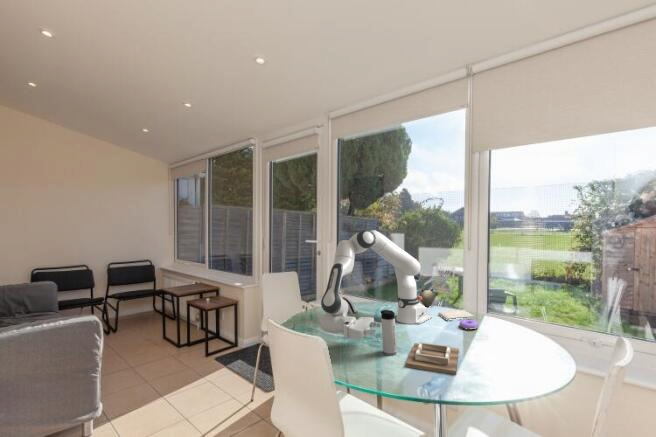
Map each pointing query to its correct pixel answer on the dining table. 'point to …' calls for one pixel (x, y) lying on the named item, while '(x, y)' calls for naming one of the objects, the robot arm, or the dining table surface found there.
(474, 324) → the donut
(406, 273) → the robot arm
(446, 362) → the dock
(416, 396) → the dining table surface
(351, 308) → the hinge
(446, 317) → the washcloth
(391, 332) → the travel mug
